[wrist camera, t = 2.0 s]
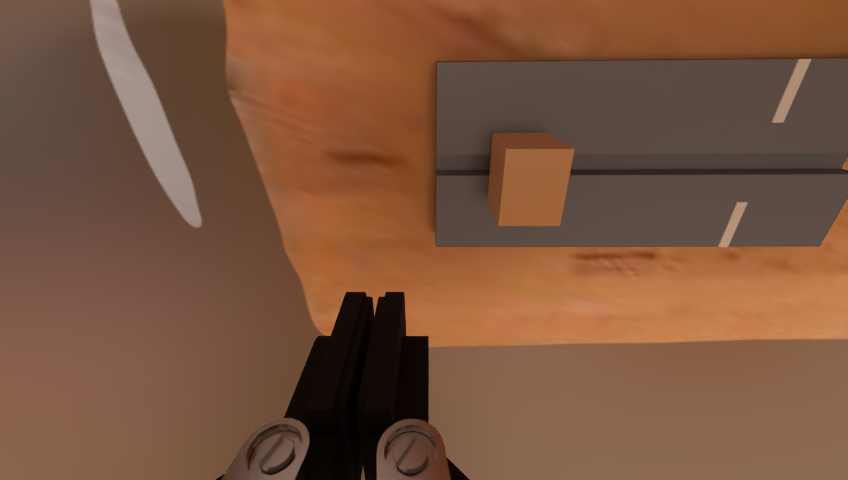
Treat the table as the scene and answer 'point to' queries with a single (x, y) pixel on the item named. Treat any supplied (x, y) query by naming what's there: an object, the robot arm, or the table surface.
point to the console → (651, 149)
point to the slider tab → (528, 178)
